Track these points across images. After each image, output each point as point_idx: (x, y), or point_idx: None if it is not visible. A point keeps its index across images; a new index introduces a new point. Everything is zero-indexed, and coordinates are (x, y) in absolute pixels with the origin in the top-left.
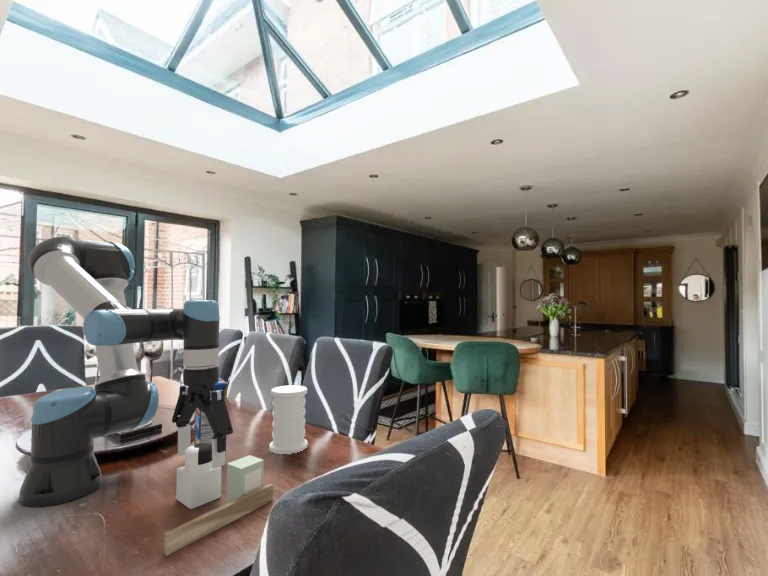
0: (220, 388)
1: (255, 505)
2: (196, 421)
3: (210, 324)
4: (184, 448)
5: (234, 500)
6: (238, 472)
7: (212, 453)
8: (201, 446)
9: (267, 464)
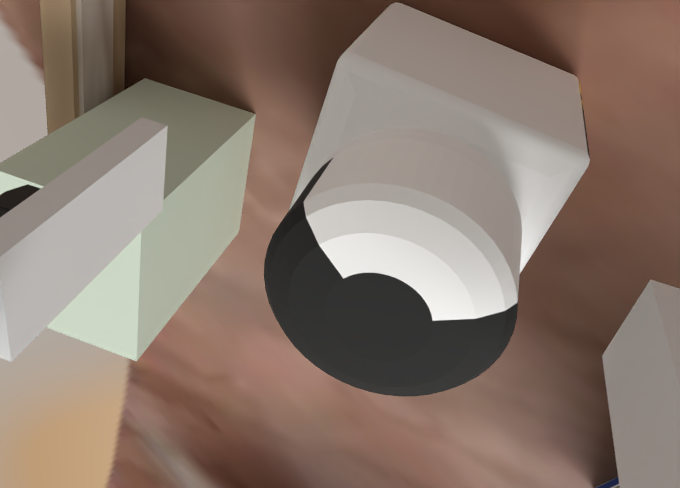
0: None
1: None
2: None
3: None
4: (633, 351)
5: (68, 35)
6: (43, 165)
7: (93, 174)
8: (345, 305)
9: (368, 480)
